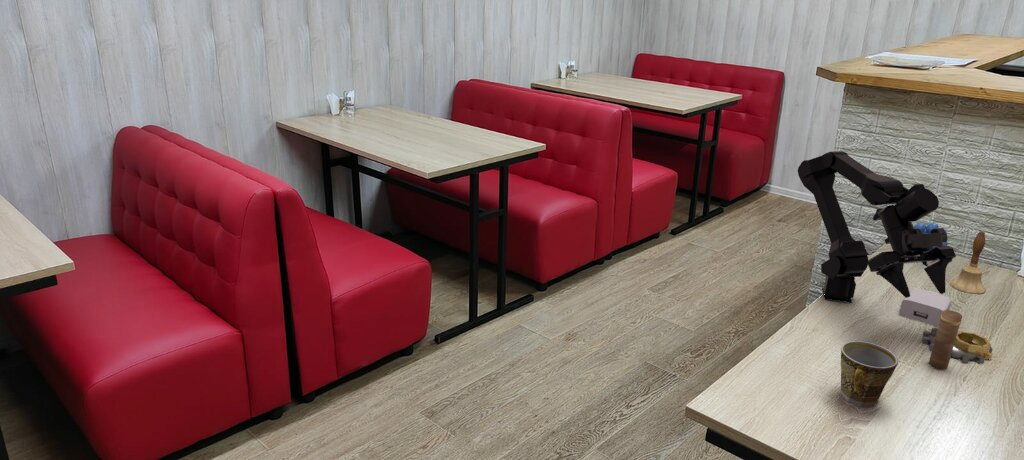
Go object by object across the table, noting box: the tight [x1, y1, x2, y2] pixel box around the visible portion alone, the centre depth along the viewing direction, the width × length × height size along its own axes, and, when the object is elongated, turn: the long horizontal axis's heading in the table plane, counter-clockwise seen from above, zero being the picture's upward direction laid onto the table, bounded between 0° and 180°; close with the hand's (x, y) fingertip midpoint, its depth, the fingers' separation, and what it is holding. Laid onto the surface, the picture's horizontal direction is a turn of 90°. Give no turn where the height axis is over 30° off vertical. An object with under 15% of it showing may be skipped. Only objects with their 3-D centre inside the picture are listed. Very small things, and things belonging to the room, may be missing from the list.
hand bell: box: [949, 230, 986, 295], centre depth 188 cm, size 8×8×16 cm
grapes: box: [913, 222, 949, 253], centre depth 206 cm, size 12×7×12 cm, turn 52°
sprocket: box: [921, 327, 994, 364], centre depth 160 cm, size 14×14×3 cm
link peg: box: [928, 309, 963, 371], centre depth 151 cm, size 4×4×12 cm
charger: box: [898, 287, 953, 327], centre depth 177 cm, size 5×9×15 cm
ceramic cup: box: [840, 340, 899, 408], centre depth 139 cm, size 13×10×10 cm
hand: (925, 295), depth 156 cm, fingers open, 9 cm apart
